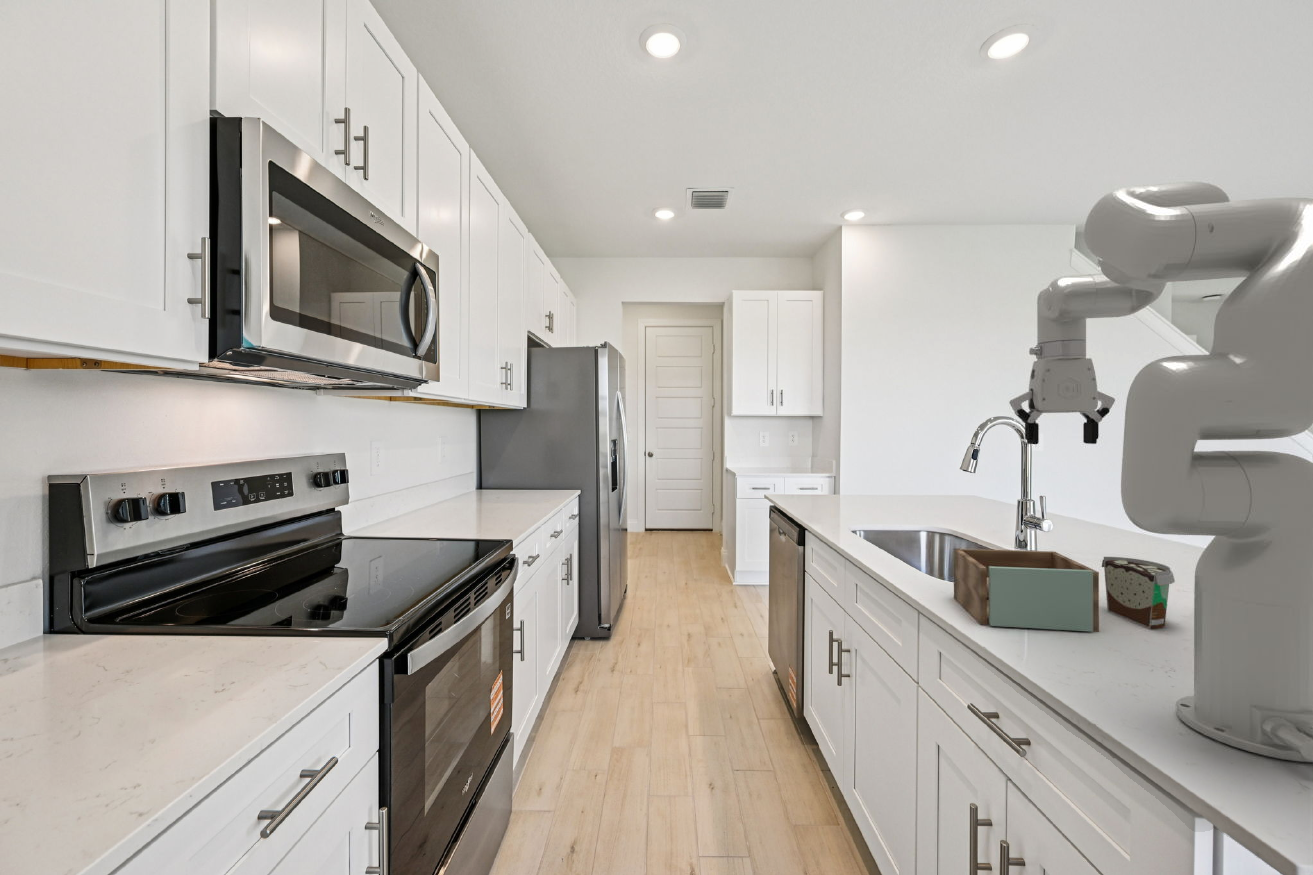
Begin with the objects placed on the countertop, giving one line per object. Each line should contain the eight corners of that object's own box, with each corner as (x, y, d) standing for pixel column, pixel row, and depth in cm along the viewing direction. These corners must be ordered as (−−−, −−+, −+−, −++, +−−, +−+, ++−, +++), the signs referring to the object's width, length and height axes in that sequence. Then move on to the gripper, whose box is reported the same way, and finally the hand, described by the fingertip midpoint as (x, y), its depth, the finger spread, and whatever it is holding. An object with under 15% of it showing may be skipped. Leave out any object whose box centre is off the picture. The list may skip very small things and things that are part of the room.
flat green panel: (1093, 631, 95) (1093, 571, 95) (990, 625, 98) (990, 567, 98) (1089, 629, 96) (1089, 570, 96) (988, 623, 99) (988, 566, 99)
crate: (1098, 631, 96) (1098, 572, 95) (980, 624, 99) (980, 567, 99) (1054, 602, 111) (1054, 551, 111) (953, 597, 115) (953, 548, 115)
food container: (1195, 632, 95) (1195, 572, 95) (1157, 632, 95) (1157, 572, 95) (1134, 608, 107) (1134, 555, 107) (1101, 608, 107) (1101, 555, 107)
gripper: (1019, 352, 105) (1019, 444, 106) (1125, 348, 102) (1125, 444, 102) (1002, 356, 113) (1002, 443, 113) (1101, 353, 109) (1101, 442, 110)
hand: (1061, 443), depth 108 cm, fingers open, 9 cm apart
